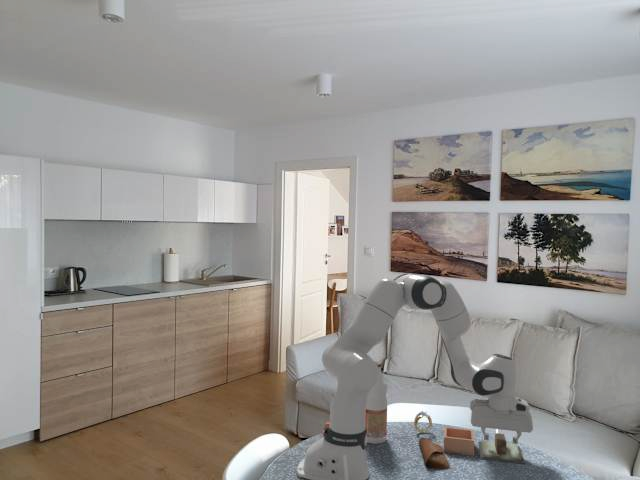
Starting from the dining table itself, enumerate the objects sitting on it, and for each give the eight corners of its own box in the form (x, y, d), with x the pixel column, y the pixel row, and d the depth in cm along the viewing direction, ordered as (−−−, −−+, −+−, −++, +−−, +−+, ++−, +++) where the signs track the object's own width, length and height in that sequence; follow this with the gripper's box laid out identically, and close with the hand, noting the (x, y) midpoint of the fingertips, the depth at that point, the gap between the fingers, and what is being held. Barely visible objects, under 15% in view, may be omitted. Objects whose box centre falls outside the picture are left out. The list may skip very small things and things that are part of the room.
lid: (483, 456, 168) (483, 442, 168) (481, 442, 179) (481, 429, 179) (521, 461, 165) (521, 447, 165) (516, 447, 176) (516, 433, 176)
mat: (480, 458, 167) (480, 457, 167) (478, 442, 181) (478, 441, 181) (525, 464, 164) (525, 463, 164) (519, 447, 177) (519, 446, 177)
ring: (415, 434, 186) (416, 413, 186) (412, 431, 190) (412, 410, 190) (433, 433, 188) (433, 412, 188) (429, 430, 191) (430, 409, 191)
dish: (443, 451, 172) (444, 437, 172) (444, 440, 182) (444, 426, 182) (473, 455, 170) (474, 440, 170) (472, 443, 179) (473, 430, 179)
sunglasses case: (452, 469, 158) (442, 451, 159) (433, 480, 159) (422, 461, 159) (442, 446, 176) (433, 429, 177) (424, 455, 177) (415, 439, 177)
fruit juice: (378, 446, 175) (380, 367, 175) (355, 440, 180) (357, 363, 180) (390, 438, 183) (392, 362, 183) (368, 432, 188) (370, 358, 188)
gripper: (470, 401, 172) (469, 441, 172) (534, 407, 166) (533, 448, 166) (469, 395, 178) (469, 434, 178) (531, 401, 173) (530, 441, 173)
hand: (500, 441), depth 172 cm, fingers open, 8 cm apart
